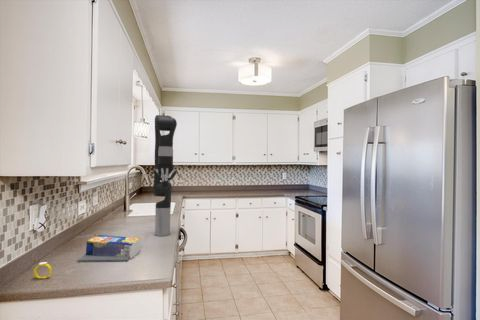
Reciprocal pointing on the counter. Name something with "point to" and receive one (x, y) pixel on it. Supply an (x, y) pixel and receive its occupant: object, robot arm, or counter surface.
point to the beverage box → (113, 246)
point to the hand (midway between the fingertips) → (165, 188)
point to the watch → (42, 265)
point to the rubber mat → (102, 258)
